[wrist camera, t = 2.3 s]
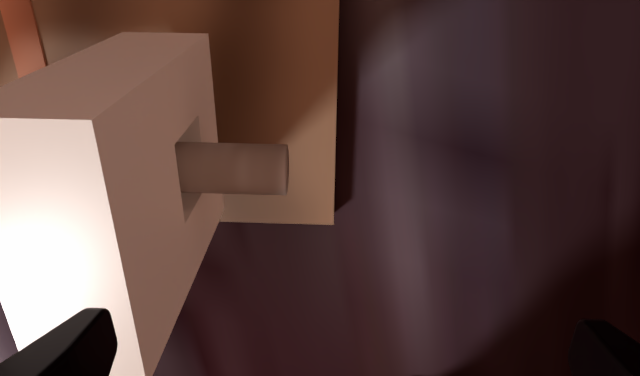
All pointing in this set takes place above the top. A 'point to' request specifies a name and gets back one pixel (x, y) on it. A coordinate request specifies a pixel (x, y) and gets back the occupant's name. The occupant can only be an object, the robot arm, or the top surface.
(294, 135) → the rod stand
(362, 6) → the top surface
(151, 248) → the tan rectangular block
